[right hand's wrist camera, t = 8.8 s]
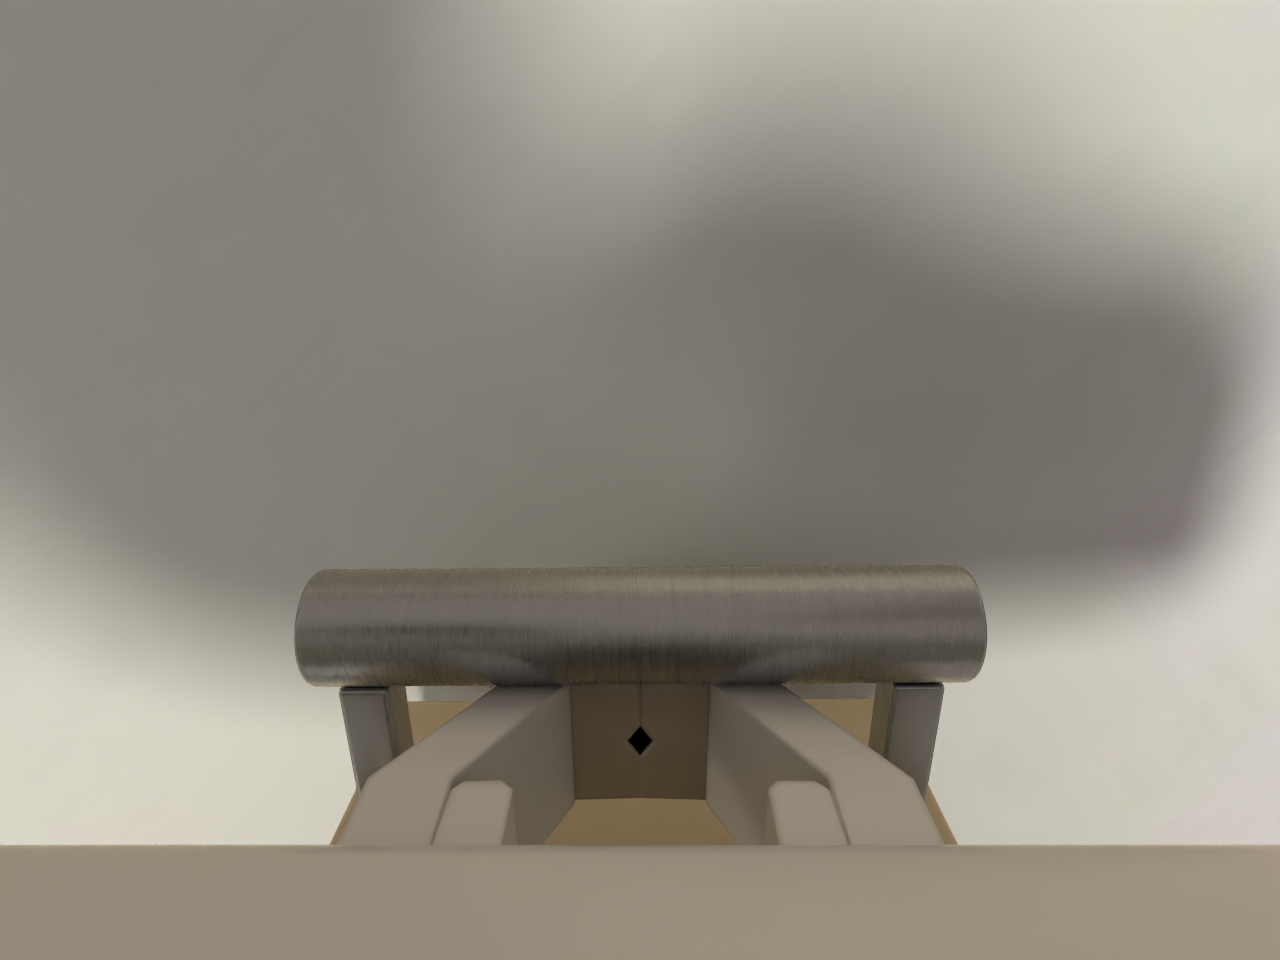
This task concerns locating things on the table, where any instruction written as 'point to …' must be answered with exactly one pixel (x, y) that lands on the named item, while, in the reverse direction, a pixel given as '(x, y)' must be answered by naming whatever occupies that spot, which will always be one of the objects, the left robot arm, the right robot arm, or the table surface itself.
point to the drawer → (643, 655)
